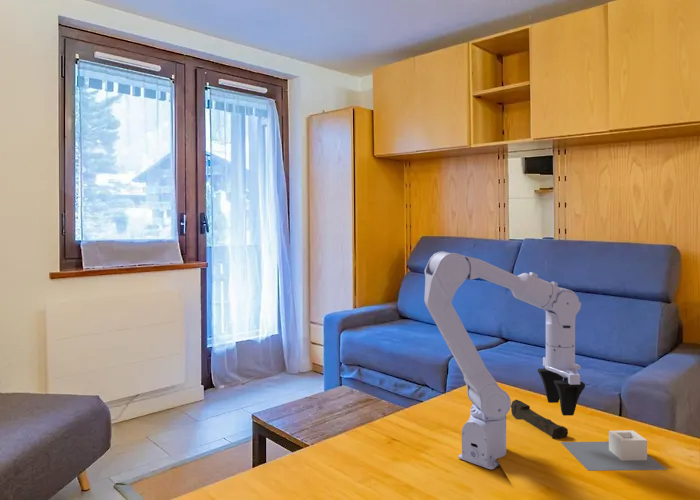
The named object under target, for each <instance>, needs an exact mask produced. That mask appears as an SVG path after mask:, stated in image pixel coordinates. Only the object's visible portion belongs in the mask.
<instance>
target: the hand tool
mask: <svg viewBox="0 0 700 500" xmlns="http://www.w3.org/2000/svg"><path fill="white" fill-rule="evenodd" d="M510 411H511V416H513V418H514V419H515V420H517V421H518V420H521V421H522V420H524V421H525V422H526V423H528V424H530V425H532V426H533V427H535V428H536V429H538V430H540V431H541V432H543V433H544V434H546V435H548V436H550V437H551V439H553V440H555V439H557V440H559V439H565V438H568V434H569V430H568V428H566V427H565V426H563V425H559V424H557V423H555V422H554V421H552V419H549V418H545V417H544V416H542V415H540V414H538V413H537V412H536V411H534V410H532V409H531V407H530V405H528V404H527V403H525V402H523V401H521V400H519V399H515V400H512V401H511V408H510Z"/></svg>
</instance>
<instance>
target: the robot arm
mask: <svg viewBox="0 0 700 500" xmlns="http://www.w3.org/2000/svg"><path fill="white" fill-rule="evenodd" d="M538 276H539V275H538V274H537V273H535V272H531V271H529V273H527V272H523V273H521V274H518V275H515V274H513V273H511V272H509V271H507V270H504V269H502V268H500V267H498V266H496V265H494V264H492V263H489V262H487V261H484V260H482V259H480V258H476V257H471V256H467V255H462V254H460V253H456V252H447V251H438V252H435V253H433V255H431V257H430V258H429V260H428V262H427V264H426V266H425V268H424V279H425V281H424V282H425V283H424V297H423V298H424V299H423V300H424V304H425V306H426V308H427V310H428V312H429V314H430V316H431V318H432V320H433V322H434V323H435V325H436V327H437V328H438V330H439V332H440V334H441V335H442V338H443V339H444V342H445V343H446V346H447V347H448V350H449V351H450V353H451V354H452V356H453V359H454V360H455V362H456V363H457V366H458V368H459V369H460V371H461V373H462V375H463V381H464V382H465V385H466V394H467V398H468V399H469V401H470V402H472V403H471V404H472V405H471V406H470V414H469V415H470V416H469V417H468V420H467V421H466V422H465V423H464V425H463V426H462V429H461V453H460V454H459V455H457V456H458V459H461V460H463V461H466V462H469V463H471V464H474V465H477V466H480V467H483V468H485V469H488V470H492V471H493V470H494V469H496V468H497V467H499V466H501V464H500V463H499V460H498V459H500V458H503V457H505V456H506V454H507V415H508V414H509V412H510V411H511V405H512V401H511V397H510V395H509V394H508V392H507V391H505V390H504V389H502V388H501V387H500V386H499V384H498V383H497V381H496V380H495V378H494V376H493V375H492V374H491V373H490V371H489V370H488V369H487V367H486V365H485V363H484V360H483V359H482V357H481V355H480V354H479V352H478V350H477V347H475V345H474V343H473V341H472V339H471V337H470V335H469V333H468V331H467V330H466V327H465V326H464V324H463V322H462V320H461V318H460V317H459V314H458V312H457V311H456V309H455V307H454V305H453V299H454V297H455V295H456V292H457V291H458V290H459V288H460V287H461V286H462V285H463V283H464V282H465V281H466V280H470V281H472V280H475V279H482V280H484V281H487V282H490V283H493V284H495V285H498V286H501V287H504V288H506V289H508V290H510V291H511V293H512V296H513V297H514V298H515V299H516V300H519V301H521V302H524V303H527V304H528V305H532V306H534V307H536V308H539V309H542V310H543V311H544V312H545V356H543V357H542V366H543V367H544V368H538V369H537V372H538V374H539V376H540V378H541V380H542V383H543V386H544V387H543V388H544V390H545V391H544V392H545V395H546V400H547V403H548V404H550V403H551V404H558V403H559V405H560V411H561V415H562V416H566V417H567V416H571V417H572V416H574V414H575V410H576V407H577V405H578V401H579V398H580V396H581V394H582V392H583V391H584V389H585V388H586V383H585V382H583V381H581V374H580V373H578V370H581V368H582V367H581V365H579V364H578V363H576V317H577V314H578V313H579V312H580V310H581V307H582V302H580V300H579V296H578V295H577V294H576V293H575V292H574V291H573V290H571V289H568V288H564V287H560V286H558V285H559V283H557V282H555V281H551V282H549V281H547V280H545V279H542V278H540V277H538Z"/></svg>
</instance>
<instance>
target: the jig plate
mask: <svg viewBox="0 0 700 500" xmlns="http://www.w3.org/2000/svg"><path fill="white" fill-rule="evenodd" d="M625 439H626V438H625ZM560 443H561V445H562V446H564V447H565V449H566V450H567V451H569V453H570V454H571V455H572V456H573V457H574V458H575V459H576V460H577V461H578V462H579V463H580V464H581V465H582V467H584V468H585V469H586V470H587V471H594V472H595V471H597V472H598V471H602V472H604V471H605V472H606V471H663V470H664V471H665V470H667V471H668V468H666V467H665V466H663V465H662V464H661V463H659V461H657V460H656V459H654V458H653V457H652V456H650V455H649V454H648V453H647V460H625V461H622V460H621V459H619V458H618V457H617V456H616V455H615V454H613V453H612V452H611V451H610V450H609V441H560Z"/></svg>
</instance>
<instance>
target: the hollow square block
mask: <svg viewBox="0 0 700 500" xmlns="http://www.w3.org/2000/svg"><path fill="white" fill-rule="evenodd" d="M625 438H626V439H625ZM608 442H609V450H610V451H611V452H612V453H613V454H615V455H616V456H617V457H618V458H619V459H621V460H622V461H625V460H647V454H648V440H647V439H646V438H644V437H643V436H642V435H640V434H639V433H638V432H636V431H635V430H609V431H608Z"/></svg>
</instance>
